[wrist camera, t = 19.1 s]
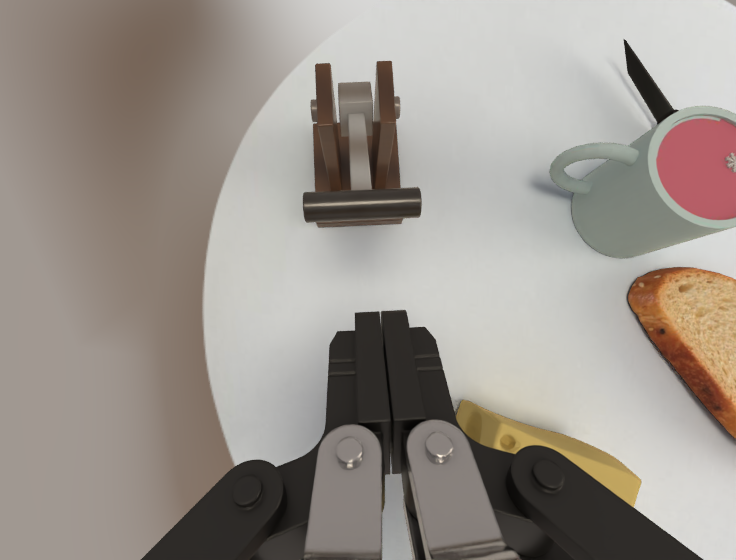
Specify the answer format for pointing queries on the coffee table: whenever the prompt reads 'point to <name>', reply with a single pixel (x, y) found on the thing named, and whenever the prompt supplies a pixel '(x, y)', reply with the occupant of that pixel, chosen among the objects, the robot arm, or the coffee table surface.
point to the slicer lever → (360, 171)
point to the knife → (647, 87)
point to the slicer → (335, 149)
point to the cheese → (518, 435)
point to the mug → (656, 184)
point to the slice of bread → (694, 331)
